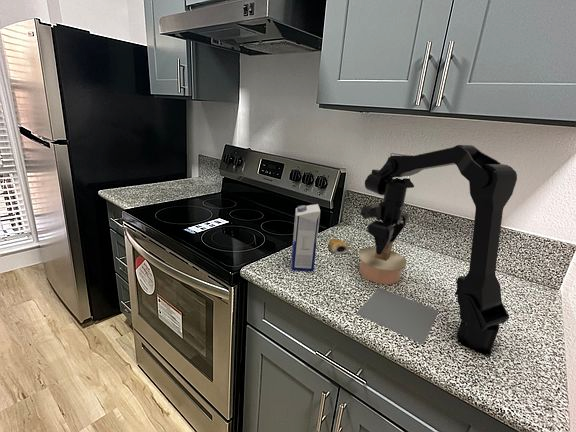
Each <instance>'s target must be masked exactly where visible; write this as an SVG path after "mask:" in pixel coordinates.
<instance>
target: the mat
mask: <svg viewBox="0 0 576 432" xmlns="http://www.w3.org/2000/svg"><path fill="white" fill-rule="evenodd" d="M439 312H440V311H439V310H438V309H435V308H432V307H431V306H427V305H425V304H421V303H419V302H418V301H415V300H412V299H410V298H407V297H404V296H402V295H400V294H397V293H394V292H392V291H389V290H387V289H384V288H381V287H378V288H377V290H376V291H375V292H374V293H373V294H372V295H371V296H370V297H369V298H368V299H367V301H365V302H364V304H363V305H362V306H361V307H360V308H359V309H358V311H357V312H356V313H355V314H356V315H357V316H359V317H362V318H363V319H366V320H368V321H370V322H373V323H375V324H377V325H379V326H381V327H384V328H386V329H387V330H390V331H392V332H394V333H397V334H399V335H400V336H403V337H406V338H407V339H409V340H412V341H414V342H416V343H418V344H421V345H424V344H425V342H426V340H427V339H428V336H429V334H430V331H431V329H432V327H433V325H434V322H435V321H436V318H437V316H438V314H439Z"/></svg>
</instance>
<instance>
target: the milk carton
mask: <svg viewBox="0 0 576 432" xmlns="http://www.w3.org/2000/svg"><path fill="white" fill-rule="evenodd" d="M320 208H321V207H320V206H319V204H318V203H316V204H309V205H299V206H297V207H296V208H295V213H294V224H293V226H294V227H293V233H292V234H293V235H292V247H291V257H290V263H291V265H290V266H291V271H295V272H297V271H298V272H311V273H313V272H314V269H315V260H316V251H317V243H318V236H319V226H320V219H321V209H320Z"/></svg>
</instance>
